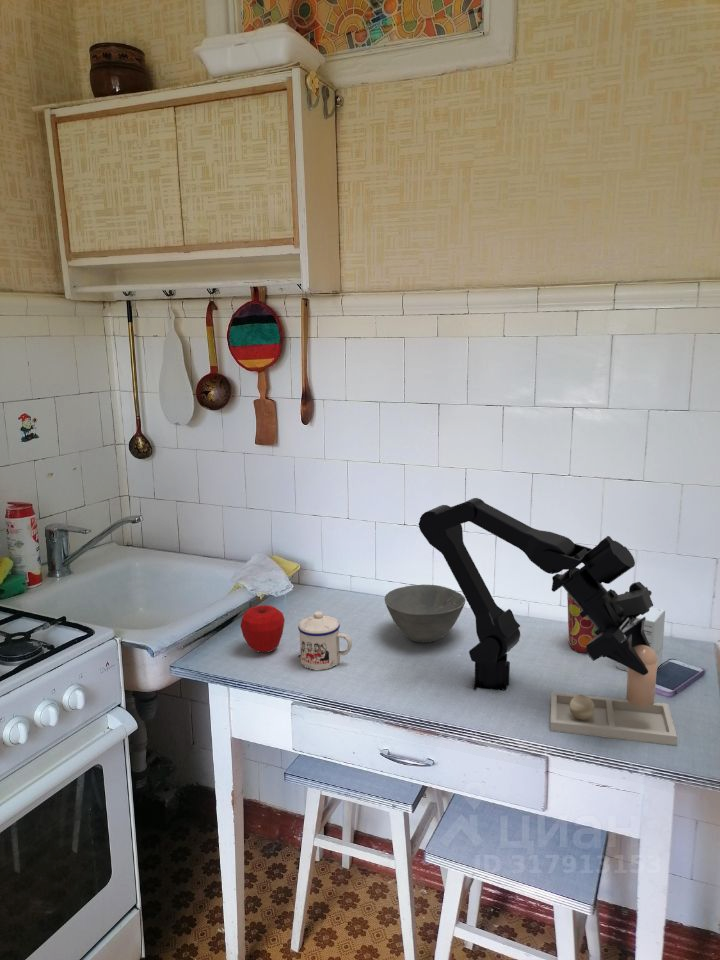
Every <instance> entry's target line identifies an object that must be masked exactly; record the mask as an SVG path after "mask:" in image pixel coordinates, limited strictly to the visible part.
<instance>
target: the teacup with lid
mask: <svg viewBox="0 0 720 960" xmlns="http://www.w3.org/2000/svg"><path fill="white" fill-rule="evenodd" d="M340 627H341V625H340V622H339V620H338V619H336V618H335V617H333V616H329V615H324V613H323V611H315V612H314V614H313V615H311V616H309V617H306V618H304V619H302V620H301V621H300V622H299V623H298V627H297V628H298V632H299V645H300V647H299V648H300V649H299V650H300V663H301V665H302V664H303V665H304V666H306V667H308V668H311V669H327V668H330V669H332V668H331V667H333V666H335V665H336V666H338V665H339V663H340V660H341V656H345V655H348V653H349V652H350V651H351V649H352V646H353V642H352V639H351V637H350V636H349V635H348V634H346V633H344V632H343V633H342V632H340ZM340 638H341V639H343V640H346V642H347V649H346V650H340ZM303 665H302V666H303ZM304 666H303V667H304ZM336 666H335V667H336ZM306 667H305V668H306ZM308 668H307V669H308ZM333 668H334V667H333ZM311 669H310V670H311ZM327 670H328V669H327Z"/></svg>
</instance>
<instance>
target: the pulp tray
mask: <svg viewBox="0 0 720 960" xmlns="http://www.w3.org/2000/svg"><path fill="white" fill-rule="evenodd" d="M550 693H551V696H550V730H549V731H550V732H557V733H564V734H565V733H566V734H575V735H581V736H582V735H583V736H589V737H599V738H606V739H607V738H609V739H617V740H625V741H634V742H643V743H651V744H660V745H667V746H677V743H678V742H677V740H678V734H677V731H676V728H675V724H674V721H673V717H672V714H671V710H670V705H669V704H668V703H662V702H654V704H653V705H651V706H647V707H643V706H637V705H634V704H631V703H630V702H628V701H627V699H626V698H625V699H623V698H615V697H614V698H613V697H605V696H604V697H603V696H596V695H595V696H594V695H587V694H584V695H585V696H587V697H589V698H590V699H591V700H592V702H593V704H594V713H593V715H592V716H591V717H590V718H589V719H586V720H580V719H577V718H576V717H574V716H573V715H572V713H571V711H570V702H571V700H572V698H574V697H575V696H577V695H578V694H575V693H566V692H565V693H564V692H557V691H551V692H550Z"/></svg>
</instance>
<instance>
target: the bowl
mask: <svg viewBox="0 0 720 960" xmlns="http://www.w3.org/2000/svg"><path fill="white" fill-rule="evenodd" d="M466 601H467V600H466V598H465V596H464V594H463V593H460V592H458V591H456V590H453V589H451V588H449V587H446V586H442V585H435V584H414V585H413V584H412V585H407V586H406V585H405V586H402V587H398V588H394V589H393V590H390V591H389V592H387V593H386V594H385V596H384V603H385V606H386V608H387V611H388V613H389V615H390V616H391V619H392V621H393V623H394V624H395V625H396V627H397V628H398V629H399V631H401V632H402V633H403V635H404V636H406V637H407V638H408V639H410V640H412V641H414V642H415V643H416V642H417V643H426V644H427V643H430V642H435V641H438V640H440V639H441V638H444V637H445V636H446V634H448V633H449V632H450V631H451V630H452V629H453V627H454V625H455V624H456V623H457V620H458V619H459V616H460V615H461V613H462V611H463V609H464V606H465V604H466Z"/></svg>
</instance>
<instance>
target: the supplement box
mask: <svg viewBox="0 0 720 960" xmlns="http://www.w3.org/2000/svg"><path fill="white" fill-rule="evenodd" d="M643 617H645V618H646V620H645V623H644V633H645V636H646V638H647V640H648V643H649V645H650V647H651V648H652V649H653V650H654V651H655V653H656V655H657V668H658V667H659V666H660V665H661V664H662V665H663V650H664V637H665V635H664V634H665V620H666V619H665V618H666V609H665V610H664V609H662V608H658V607H654V606H653V607H650V609H649V611H648V612H647V613H645V614H644V615H641V614H640V615H639V616H638V617H637V619H638V620H640V619H642V618H643ZM616 663H617V664H616V668H617V669H619V670H623V671H626V672H628V667H627V666H625V665H623V664H621V663H619V662H616ZM662 665H661V666H662ZM661 666H660V667H661ZM660 667H659V668H660Z"/></svg>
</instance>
